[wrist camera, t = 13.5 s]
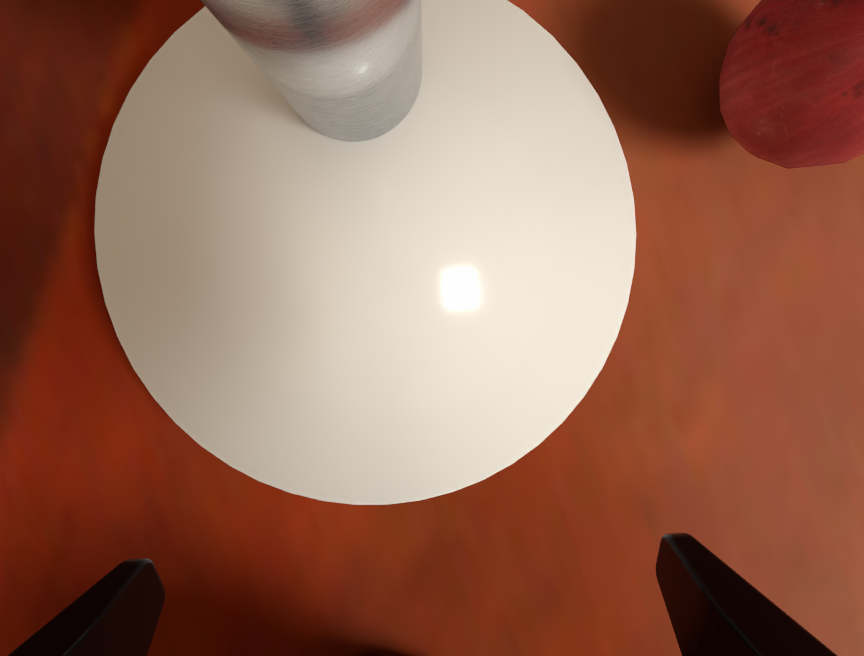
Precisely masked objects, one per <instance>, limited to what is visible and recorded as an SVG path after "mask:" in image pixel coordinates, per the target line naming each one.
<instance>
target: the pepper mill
mask: <svg viewBox="0 0 864 656" xmlns="http://www.w3.org/2000/svg"><path fill="white" fill-rule="evenodd" d="M201 2H202V3H203V4H204V5H205V6H206V7H207V9H208V10H209V11H210V12H211V13H212V14H213V16H214V17H215V18H216V19H217V20H218V21H219V23H220V24H221V25H222V26H223V27H224V29H225V30H226V31H227V32H228V33H229V34H230V36H231V37H232V38H233V39H234V40H235V41H236V43H237V44H238V45H239V46H240V47H241V48H242V50H243V51H244V52H245V53H246V54H247V55H248V57H249V58H250V59H251V60H252V61H253V62H254V64H255V65H256V66H257V67H258V68H259V69H260V71H261V72H262V73H263V74H264V75H265V77H266V78H267V79H268V80H269V81H270V82H271V84H272V85H273V86H274V87H275V88H276V89H277V91H278V92H279V93H280V94H281V95H282V96H283V98H284V99H285V100H286V101H287V102H288V103H289V105H290V106H291V107H292V108H293V109H294V110H295V112H296V113H297V114H298V115H299V116H300V117H301V118H302V119H303V120H304V121H305V123H307V124H308V125H309V126H310V127H312V128H313V129H314V130H316V131H318V132H319V133H321V134H323V135H325V136H327V137H330V138H333V139H336V140H341V141H348V142H358V141H366V140H370V139H374V138H377V137H379V136H381V135H384V134H385V133H387V132H389V131H390V130H392V129H393V128H394V127H396V126H397V125H398V124H399V123H400V122H401V121H402V120H403V119H404V118H405V117H406V115H407V114H408V113H409V111H410V110H411V108H412V106H413V105H414V103H415V101H416V98H417V96H418V93H419V89H420V85H421V80H422V3H421V0H201Z"/></svg>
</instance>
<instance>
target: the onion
mask: <svg viewBox="0 0 864 656" xmlns="http://www.w3.org/2000/svg"><path fill="white" fill-rule="evenodd" d="M719 90H720V111H721V113H722V116H723V118H724V121H725V123H726V126H727V129H728V131H729V134H730V135H731V136H732V137H733V138H734V139H735V140H736V141H737V142H738V143H739V144H740V145H741V146H742V147H743V148H744V149H745V150H746V151H748V152H749V153H751V154H752V155H754V156H756V157H757V158H760V159H763V160H766V161H768V162H771V163H774V164H777V165H780V166H782V167H785V168H799V167H810V166H821V165H829V164H837V163H844V162H846V161H848V160H851V159H853V158H855V157H857V156H860V155H862V154H864V0H761V1H760V3H759V4H758V5H757V6H756V7H755V8H754V9H753V11H752V12H751V13H750V14H749V16H748V17H747V18H746V19H745V21H744V22H743V23H742V24H741V25H740V27H739V28H738V29H737V30H736V32H735V33H734V34H733V35H732V36H731V38H730V42H729V45H728V48H727V52H726V55H725V59H724V62H723V65H722V69H721V72H720V80H719Z"/></svg>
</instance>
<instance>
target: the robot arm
mask: <svg viewBox="0 0 864 656" xmlns="http://www.w3.org/2000/svg"><path fill="white" fill-rule="evenodd" d="M656 575H657V580H658V583H659V586H660V589H661V592H662V595H663V598H664V602H665V605H666V608H667V611H668V614H669V617H670V620H671V623H672V626H673V629H674V632H675V635H676V639H677V642H678V645H679V648H680V651H681V654H682V656H837V655H836V654H835V653H833V652H832V651H831V650H830V649H829V648H827V647H826V646H825V645H824V644H822V643H821V642H820V641H819V640H818V639H816V638H815V637H814V636H813V635H812V634H810V633H809V632H808V631H807V630H805V629H804V628H803V627H802V626H801V625H799V624H798V623H797V622H796V621H795V620H793V619H792V618H791V617H790V616H788V615H787V614H786V613H785V612H784V611H782V610H781V609H780V608H779V607H778V606H776V605H775V604H774V603H773V602H771V601H770V600H769V599H768V598H767V597H765V596H764V595H763V594H762V593H761V592H759V591H758V590H757V589H756V588H754V587H753V586H752V585H751V584H750V583H748V582H747V581H746V580H745V579H744V578H742V577H741V576H740V575H739V574H737V573H736V572H735V571H734V570H733V569H731V568H730V567H729V566H728V565H727V564H725V563H724V562H723V561H722V560H720V559H719V558H718V557H717V556H716V555H714V554H713V553H712V552H711V551H710V550H708V549H707V548H706V547H705V546H703V545H702V544H701V543H700V542H699V541H697V540H696V539H695V538H694V537H692V536H691V535H689V534H687V533H670V534H665V535H663V537H662V539H661V542H660V547H659V552H658V557H657V562H656ZM164 599H165V589H164V586H163V584H162V581H161V579H160V577H159V575H158V572H157V570H156V568H155V566H154V563H153V562H152V561H151V560H150V559H146V558H145V559H129V560H126V561H124V562H122V563H120V564H119V565H118V566H117V567H115V568H114V569H113V570H112V571H111V572H109V573H108V574H107V575H106V576H104V577H103V578H102V579H101V580H100V581H98V582H97V583H96V584H95V585H93V586H92V587H91V588H90V589H89V590H87V591H86V592H85V593H84V594H82V595H81V596H80V597H79V598H78V599H76V600H75V601H74V602H73V603H71V604H70V605H69V606H68V607H67V608H65V609H64V610H63V611H62V612H60V613H59V614H58V615H57V616H56V617H54V618H53V619H52V620H51V621H50V622H48V623H47V624H46V625H45V626H43V627H42V628H41V629H40V630H39V631H37V632H36V633H35V634H34V635H32V636H31V637H30V638H29V639H28V640H26V641H25V642H24V643H23V644H21V645H20V646H19V647H18V648H17V649H15V650H14V651H13V652H12V653H10V654H9V655H8V656H147V654H148V651H149V648H150V645H151V641H152V638H153V635H154V632H155V629H156V626H157V623H158V620H159V617H160V613H161V610H162V607H163V604H164Z"/></svg>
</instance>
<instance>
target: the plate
mask: <svg viewBox="0 0 864 656" xmlns="http://www.w3.org/2000/svg"><path fill="white" fill-rule="evenodd" d="M421 3H422V80H421V85H420V89H419V93H418V96H417V98H416V101H415V103H414V105H413V106H412V108H411V110H410V111H409V113H408V114H407V115H406V117H405V118H404V119H403V120H402V121H401V122H400V123H399V124H398V125H397V126H396V127H394V128H393V129H392V130H390V131H389V132H387V133H385V134H384V135H381V136H379V137H377V138H374V139H370V140H366V141H358V142H348V141H341V140H336V139H333V138H330V137H327V136H325V135H323V134H321V133H319V132H318V131H316V130H314V129H313V128H312V127H310V126H309V125H308V124H307V123H305V121H304V120H303V119H302V118H301V117H300V116H299V115H298V114H297V113H296V112H295V110H294V109H293V108H292V107H291V106H290V105H289V103H288V102H287V101H286V100H285V99H284V98H283V96H282V95H281V94H280V93H279V92H278V91H277V89H276V88H275V87H274V86H273V85H272V84H271V82H270V81H269V80H268V79H267V78H266V77H265V75H264V74H263V73H262V72H261V71H260V69H259V68H258V67H257V66H256V65H255V64H254V62H253V61H252V60H251V59H250V58H249V57H248V55H247V54H246V53H245V52H244V51H243V50H242V48H241V47H240V46H239V45H238V44H237V43H236V41H235V40H234V39H233V38H232V37H231V36H230V34H229V33H228V32H227V31H226V30H225V29H224V27H223V26H222V25H221V24H220V23H219V21H218V20H217V19H216V18H215V17H214V16H213V14H212V13H211V12H210V11H209V10H208V9H207V7H206V6H205V7H204V8H202V9H201V10H200V11H199V12H198V13H197V14H195V15H194V16H193V17H192V18H191V19H190V20H188V21H187V22H186V23H185V24H184V25H182V26H181V27H180V28H179V29H178V30H177V31H175V32H174V34H173V35H172V36H171V37H170V38H169V39H168V40H167V41H166V43H165V44H164V45H163V46H162V47H161V48H160V49H159V50H158V52H157V53H156V54H155V55H154V56H153V57H152V58H151V59H150V61H149V62H148V64H147V65H146V67H145V68H144V70H143V71H142V73H141V74H140V76H139V77H138V79H137V80H136V82H135V83H134V85H133V86H132V88H131V89H130V91H129V93H128V95H127V97H126V99H125V101H124V104H123V106H122V108H121V110H120V112H119V114H118V116H117V118H116V120H115V122H114V124H113V128H112V131H111V134H110V137H109V140H108V143H107V146H106V149H105V153H104V156H103V159H102V164H101V170H100V175H99V181H98V186H97V192H96V204H95V228H94V234H95V246H96V257H97V268H98V273H99V277H100V282H101V286H102V291H103V295H104V300H105V304H106V307H107V310H108V312H109V315H110V318H111V321H112V323H113V326H114V329H115V332H116V335H117V337H118V339H119V341H120V343H121V345H122V347H123V349H124V351H125V353H126V355H127V357H128V359H129V361H130V363H131V365H132V367H133V369H134V370H135V372H136V373H137V374H138V376H139V377H140V379H141V380H142V382H143V383H144V385H145V386H146V388H147V389H148V391H149V392H150V394H151V395H152V397H153V398H154V399H155V400H156V401H157V402H158V404H159V405H160V406H161V407H162V408H163V409H164V410H165V412H166V413H167V414H168V415H169V416H170V417H171V418H172V420H173V421H174V422H175V423H176V424H177V425H178V426H179V427H180V428H182V429H183V430H184V431H185V432H186V433H187V434H188V435H189V436H191V437H192V438H193V439H194V440H195V441H196V442H197V443H198V444H200V445H201V446H202V447H203V448H205V449H206V450H208V451H209V452H211V453H212V454H213V455H215V456H216V457H218V458H219V459H221V460H222V461H224V462H225V463H226V464H228V465H229V466H231V467H233V468H235V469H237V470H239V471H241V472H243V473H245V474H246V475H248V476H250V477H252V478H254V479H256V480H258V481H260V482H263V483H265V484H268V485H271V486H273V487H276V488H279V489H281V490H284V491H287V492H289V493H293V494H297V495H301V496H305V497H309V498H313V499H317V500H321V501H328V502H337V503H345V504H354V505H384V504H396V503H404V502H411V501H419V500H424V499H428V498H432V497H435V496H439V495H443V494H447V493H451V492H454V491H457V490H459V489H462V488H464V487H467V486H469V485H472V484H474V483H477V482H479V481H482V480H484V479H486V478H488V477H489V476H491V475H493V474H495V473H497V472H499V471H500V470H502V469H504V468H506V467H508V466H509V465H511V464H513V463H514V462H516V461H517V460H518V459H520V458H521V457H522V456H524V455H525V454H527V453H528V452H529V451H531V450H532V449H533V448H535V447H536V446H538V445H539V444H540V443H541V442H542V441H543V440H544V439H545V438H546V437H548V436H549V435H550V434H551V433H552V432H553V431H554V430H555V429H556V428H557V427H558V426H559V425H560V424H561V423H562V422H563V421H564V420H565V419H566V418H567V417H568V415H569V414H570V413H571V412H572V411H573V409H574V408H575V407H576V406H577V405H578V403H579V402H580V401H581V400H582V398H583V397H584V396H585V394H586V393H587V391H588V390H589V388H590V387H591V385H592V383H593V382H594V380H595V379H596V377H597V376H598V374H599V372H600V371H601V369H602V368H603V366H604V364H605V361H606V359H607V357H608V355H609V353H610V351H611V349H612V346H613V344H614V342H615V340H616V338H617V336H618V332H619V329H620V326H621V323H622V320H623V317H624V314H625V311H626V308H627V304H628V300H629V294H630V289H631V284H632V278H633V273H634V264H635V247H636V224H635V210H634V197H633V192H632V187H631V183H630V178H629V173H628V168H627V163H626V160H625V157H624V154H623V151H622V148H621V145H620V142H619V139H618V137H617V134H616V131H615V128H614V126H613V124H612V122H611V120H610V118H609V116H608V114H607V112H606V110H605V108H604V106H603V104H602V102H601V100H600V98H599V96H598V94H597V92H596V91H595V89H594V88H593V87H592V85H591V84H590V82H589V81H588V79H587V78H586V76H585V75H584V73H583V72H582V70H581V69H580V67H579V66H578V64H577V63H576V62H575V61H574V60H573V59H572V57H571V56H570V55H569V54H568V53H567V52H566V51H565V50H564V48H563V47H562V46H561V45H560V44H559V43H558V42H557V41H556V39H555V38H554V37H553V36H552V35H551V34H550V33H548V32H547V31H546V30H545V29H544V28H543V27H541V26H540V25H539V24H538V23H537V22H536V21H535V20H533V19H532V18H531V17H530V16H529V15H528V14H526V13H525V12H524V11H523V10H521V9H520V8H518V7H516V6H515V5H513V4H512V3H510V2H509V1H507V0H421Z"/></svg>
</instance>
